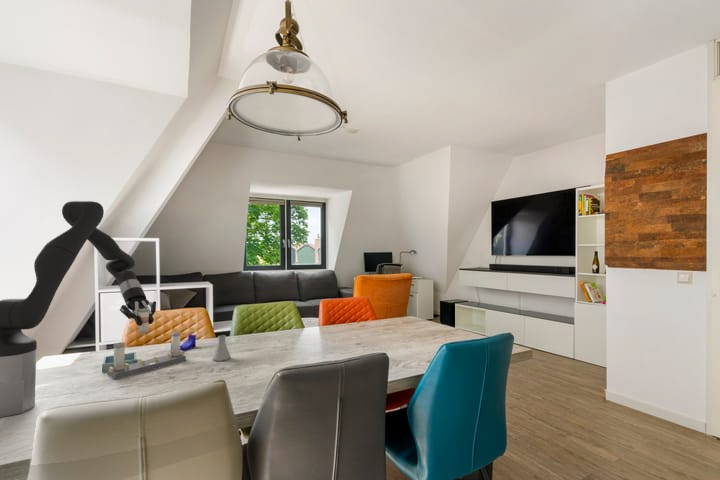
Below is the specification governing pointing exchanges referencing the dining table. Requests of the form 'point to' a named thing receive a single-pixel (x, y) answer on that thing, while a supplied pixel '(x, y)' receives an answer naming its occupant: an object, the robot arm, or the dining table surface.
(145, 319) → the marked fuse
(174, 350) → the fuse
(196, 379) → the dining table surface
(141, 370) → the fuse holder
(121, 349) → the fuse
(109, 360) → the tray
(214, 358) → the flask
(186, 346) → the blue shoe
